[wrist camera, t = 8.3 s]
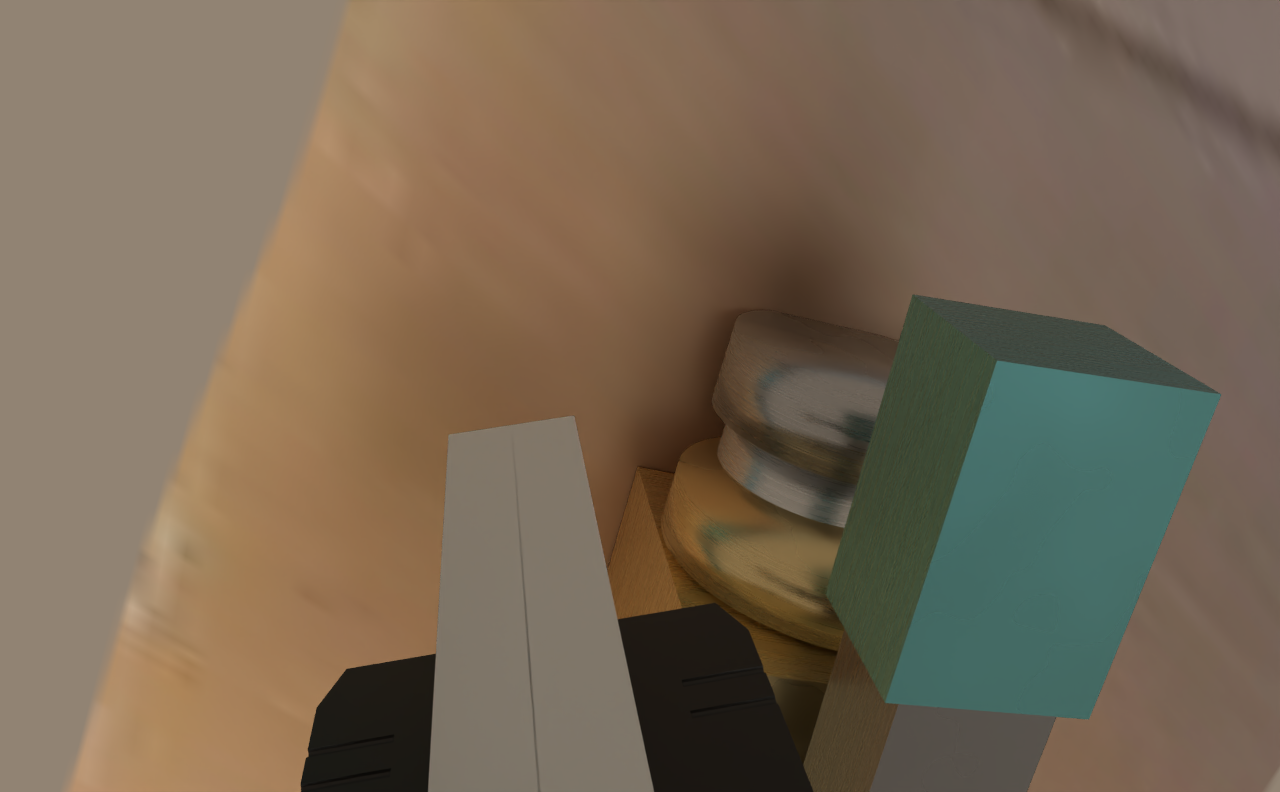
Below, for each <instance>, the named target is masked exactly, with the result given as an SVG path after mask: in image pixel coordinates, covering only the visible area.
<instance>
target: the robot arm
mask: <svg viewBox="0 0 1280 792" xmlns="http://www.w3.org/2000/svg"><path fill="white" fill-rule="evenodd" d="M308 753H309V757H307V758H306V761H305V766H304V770H303V775H302V780H301V792H814V791H813V789H812V786H811V784H810V781H809V779H808V776H807V774H806V771H805V769H804V766H803V764H802V761H801V759H800V756H799V754H798V751H797V749H796V746H795V744H794V741H793V739H792V736H791V734H790V731H789V729H788V726H787V724H786V722H785V719H784V717H783V714H782V712H781V709H780V707H779V704H778V703H776V699H775V694H774V692H773V689H772V687H771V684H770V682H769V679H768V677H767V674H766V673H764V669H763V664H762V662H761V659H760V657H759V654H758V652H757V649H756V647H755V644H754V642H753V639H752V637H751V635H750V632H749V630H748V629H747V628H746V627H745V626H743V625H742V624H741V623H740V622H738V621H737V620H736V619H735V618H733V617H732V616H731V615H730V614H729V613H727V612H726V611H725V610H724V609H722V608H721V607H720V606H719V605H717V604H716V603H710V604H705V605H699V606H693V607H687V608H681V609H675V610H669V611H663V612H657V613H652V614H646V615H640V616H634V617H628V618H622V619H617V615H616V610H615V605H614V601H613V596H612V591H611V586H610V582H609V577H608V572H607V568H606V563H605V558H604V553H603V549H602V544H601V539H600V534H599V530H598V525H597V520H596V516H595V511H594V506H593V501H592V497H591V492H590V487H589V483H588V478H587V473H586V468H585V464H584V459H583V454H582V449H581V445H580V440H579V435H578V431H577V426H576V421H575V416H567V417H560V418H554V419H547V420H541V421H534V422H528V423H521V424H515V425H508V426H502V427H495V428H488V429H482V430H475V431H469V432H462V433H456V434H449V436H448V453H447V471H446V488H445V506H444V523H443V540H442V558H441V575H440V592H439V610H438V627H437V644H436V654H432V655H426V656H420V657H414V658H408V659H403V660H397V661H391V662H385V663H379V664H373V665H367V666H361V667H356V668H350V669H346V670H345V672H344V673H343V674H342V676H341V677H340V678H339V680H338V681H337V682H336V683H335V685H334V686H333V687H332V689H331V690H330V691H329V693H328V694H327V695H326V696H325V698H324V699H323V700H322V702H321V703H320V704H319V706H318V707H317V709H316V714H315V718H314V723H313V728H312V732H311V737H310V742H309V747H308Z"/></svg>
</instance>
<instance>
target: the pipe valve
mask: <svg viewBox="0 0 1280 792" xmlns="http://www.w3.org/2000/svg"><path fill="white" fill-rule="evenodd" d="M898 343H899V342H898V341H895V340H893V339H890V338H887V337H884V336H882V335H877V334H873V333H869V332H864V331H860V330H855V329H851V328H846V327H842V326H838V325H833V324H829V323H824V322H820V321H815V320H811V319H807V318H802V317H798V316H793V315H789V314H784V313H780V312H776V311H771V310H757V311H749V312H745V313H743V314H740V315H739V316H738V317H737V319H736V321H735V325H734V328H733V331H732V334H731V337H730V341H729V344H728V347H727V350H726V354H725V357H724V360H723V363H722V367H721V370H720V373H719V376H718V380H717V383H716V386H715V389H714V392H713V396H712V405H713V408H714V410H715V412H716V413H717V415H718V416H719V417H720V418H721V419H722V421H723V422H724V423H725V427H724V430H723V433H722V436H721V437H715V438H711V439H706V440H703V441H700V442H698V443H695V444H693V445H692V446H690V447H689V448H687V449H686V450H685V451H684V452H683V453H682V455H681V457H680V459H679V462H678V465H677V468H676V471H675V474H674V473H668V472H663V471H658V470H652V469H647V468H642V467H637V470H636V474H635V477H634V481H633V484H632V488H631V491H630V495H629V498H628V501H627V505H626V508H625V512H624V515H623V519H622V522H621V525H620V529H619V532H618V536H617V539H616V543H615V546H614V549H613V553H612V556H611V560H610V563H609V567H608V570H607V572H608V577H609V582H610V586H611V591H612V596H613V601H614V605H615V610H616V615H617V619H622V618H628V617H634V616H640V615H646V614H652V613H657V612H663V611H669V610H675V609H681V608H687V607H693V606H699V605H705V604H710V603H716V604H717V605H719V606H720V607H721V608H722V609H724V610H725V611H726V612H727V613H729V614H730V615H731V616H732V617H733V618H735V619H736V620H737V621H738V622H740V623H741V624H742V625H743V626H745V627H746V628H747V629H748V630H749V632H750V635H751V637H752V639H753V642H754V644H755V647H756V649H757V652H758V654H759V657H760V659H761V662H762V664H763V669H764V673H766V674H767V677H768V679H769V682H770V684H771V687H772V689H773V692H774V694H775V699H776V703H778V704H779V707H780V709H781V712H782V714H783V717H784V719H785V722H786V724H787V726H788V729H789V731H790V734H791V736H792V739H793V741H794V744H795V746H796V749H797V751H798V754H799V756H800V759H801V761H802V764H804V761H805V758H806V754H807V751H808V748H809V745H810V741H811V738H812V735H813V731H814V728H815V725H816V722H817V718H818V715H819V712H820V708H821V705H822V702H823V698H824V695H825V692H826V689H827V685H828V682H829V679H830V675H831V672H832V669H833V666H834V662H835V659H836V656H837V652H838V649H839V646H840V642H841V639H842V636H843V633H844V627H843V625H842V623H841V621H840V619H839V618H838V616H837V614H836V612H835V610H834V608H833V607H832V605H831V603H830V601H829V599H828V597H827V596H826V594H825V592H826V589H827V586H828V582H829V579H830V575H831V572H832V569H833V565H834V562H835V558H836V555H837V551H838V548H839V545H840V541H841V538H842V534H843V531H844V528H845V524H846V521H847V517H848V514H849V510H850V507H851V504H852V500H853V497H854V493H855V490H856V487H857V483H858V480H859V476H860V473H861V469H862V466H863V463H864V459H865V456H866V452H867V449H868V446H869V442H870V439H871V435H872V432H873V428H874V425H875V422H876V418H877V415H878V411H879V408H880V405H881V401H882V398H883V394H884V391H885V387H886V384H887V381H888V377H889V374H890V370H891V367H892V364H893V360H894V357H895V353H896V350H897V346H898Z"/></svg>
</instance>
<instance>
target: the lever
mask: <svg viewBox="0 0 1280 792" xmlns="http://www.w3.org/2000/svg"><path fill="white" fill-rule="evenodd" d="M1220 396H1221V394H1220V393H1218V392H1216V391H1215V390H1213V389H1211V388H1210V387H1208V386H1206V385H1205V384H1203V383H1201V382H1200V381H1198V380H1196V379H1195V378H1193V377H1191V376H1189V375H1188V374H1186V373H1184V372H1183V371H1181V370H1179V369H1178V368H1176V367H1174V366H1173V365H1171V364H1169V363H1168V362H1166V361H1164V360H1162V359H1161V358H1159V357H1157V356H1156V355H1154V354H1152V353H1151V352H1149V351H1147V350H1146V349H1144V348H1142V347H1141V346H1139V345H1137V344H1135V343H1134V342H1132V341H1130V340H1129V339H1127V338H1125V337H1124V336H1122V335H1120V334H1119V333H1117V332H1115V331H1114V330H1112V329H1110V328H1108V327H1107V326H1105V325H1099V324H1093V323H1086V322H1080V321H1074V320H1068V319H1062V318H1055V317H1049V316H1043V315H1037V314H1031V313H1024V312H1018V311H1012V310H1006V309H1000V308H993V307H987V306H981V305H975V304H969V303H962V302H956V301H950V300H944V299H938V298H931V297H925V296H919V295H912V299H911V302H910V305H909V309H908V312H907V316H906V319H905V323H904V326H903V329H902V333H901V336H900V340H899V343H898V346H897V350H896V353H895V357H894V360H893V364H892V367H891V370H890V374H889V377H888V381H887V384H886V387H885V391H884V394H883V398H882V401H881V405H880V408H879V411H878V415H877V418H876V422H875V425H874V428H873V432H872V435H871V439H870V442H869V446H868V449H867V452H866V456H865V459H864V463H863V466H862V469H861V473H860V476H859V480H858V483H857V487H856V490H855V493H854V497H853V500H852V504H851V507H850V510H849V514H848V517H847V521H846V524H845V528H844V531H843V534H842V538H841V541H840V545H839V548H838V551H837V555H836V558H835V562H834V565H833V569H832V572H831V575H830V579H829V582H828V586H827V589H826V592H825V594H826V596H827V597H828V599H829V601H830V603H831V605H832V607H833V608H834V610H835V612H836V614H837V616H838V618H839V619H840V621H841V623H842V625H843V627H844V633H843V636H842V639H841V642H840V646H839V649H838V652H837V656H836V659H835V662H834V666H833V669H832V672H831V675H830V679H829V682H828V685H827V689H826V692H825V695H824V698H823V702H822V705H821V708H820V712H819V715H818V718H817V722H816V725H815V728H814V731H813V735H812V738H811V741H810V745H809V748H808V751H807V754H806V758H805V761H804V764H803V766H804V769H805V771H806V774H807V776H808V779H809V781H810V784H811V786H812V789H813V791H814V792H1027V790H1028V788H1029V785H1030V783H1031V780H1032V778H1033V775H1034V773H1035V770H1036V767H1037V765H1038V762H1039V760H1040V757H1041V755H1042V752H1043V750H1044V747H1045V745H1046V742H1047V740H1048V737H1049V735H1050V732H1051V729H1052V727H1053V724H1054V722H1055V719H1056V717H1065V718H1077V719H1089V718H1090V715H1091V713H1092V711H1093V708H1094V706H1095V703H1096V701H1097V698H1098V696H1099V693H1100V691H1101V688H1102V686H1103V684H1104V681H1105V679H1106V676H1107V674H1108V671H1109V669H1110V666H1111V664H1112V661H1113V659H1114V657H1115V654H1116V652H1117V649H1118V647H1119V644H1120V642H1121V639H1122V637H1123V634H1124V632H1125V630H1126V627H1127V625H1128V622H1129V620H1130V617H1131V615H1132V612H1133V610H1134V607H1135V605H1136V603H1137V600H1138V598H1139V595H1140V593H1141V590H1142V588H1143V585H1144V583H1145V580H1146V578H1147V576H1148V573H1149V571H1150V568H1151V566H1152V563H1153V561H1154V558H1155V556H1156V553H1157V551H1158V549H1159V546H1160V544H1161V541H1162V539H1163V536H1164V534H1165V531H1166V529H1167V526H1168V524H1169V522H1170V519H1171V517H1172V514H1173V512H1174V509H1175V507H1176V504H1177V502H1178V500H1179V497H1180V495H1181V492H1182V490H1183V487H1184V485H1185V482H1186V480H1187V477H1188V475H1189V473H1190V470H1191V468H1192V465H1193V463H1194V460H1195V458H1196V455H1197V453H1198V450H1199V448H1200V446H1201V443H1202V441H1203V438H1204V436H1205V433H1206V431H1207V428H1208V426H1209V423H1210V421H1211V419H1212V416H1213V414H1214V411H1215V409H1216V406H1217V404H1218V401H1219V399H1220Z"/></svg>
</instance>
